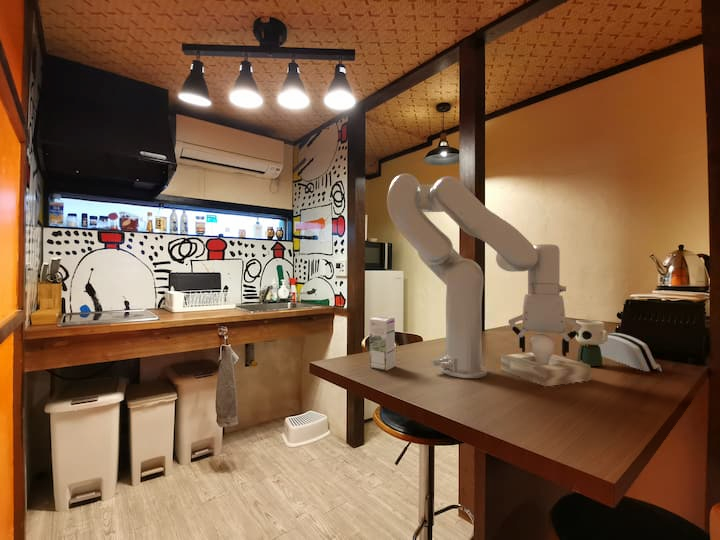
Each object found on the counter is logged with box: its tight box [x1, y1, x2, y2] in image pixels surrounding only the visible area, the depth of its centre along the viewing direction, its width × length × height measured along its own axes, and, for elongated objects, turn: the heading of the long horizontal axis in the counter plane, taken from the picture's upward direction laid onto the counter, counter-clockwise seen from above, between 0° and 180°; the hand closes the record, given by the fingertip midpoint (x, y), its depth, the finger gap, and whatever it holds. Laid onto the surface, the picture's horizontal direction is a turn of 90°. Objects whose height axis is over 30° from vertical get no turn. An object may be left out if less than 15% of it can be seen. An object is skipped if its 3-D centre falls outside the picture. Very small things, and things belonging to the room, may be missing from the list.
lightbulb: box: [529, 333, 556, 365], centre depth 90 cm, size 6×6×11 cm
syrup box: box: [368, 316, 396, 371], centre depth 97 cm, size 6×6×14 cm
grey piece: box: [598, 332, 663, 372], centre depth 101 cm, size 17×5×10 cm, turn 2°
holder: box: [500, 351, 591, 387], centre depth 90 cm, size 15×15×4 cm
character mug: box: [574, 319, 609, 367], centre depth 99 cm, size 11×7×13 cm, turn 13°
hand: (543, 353), depth 90 cm, fingers open, 9 cm apart
